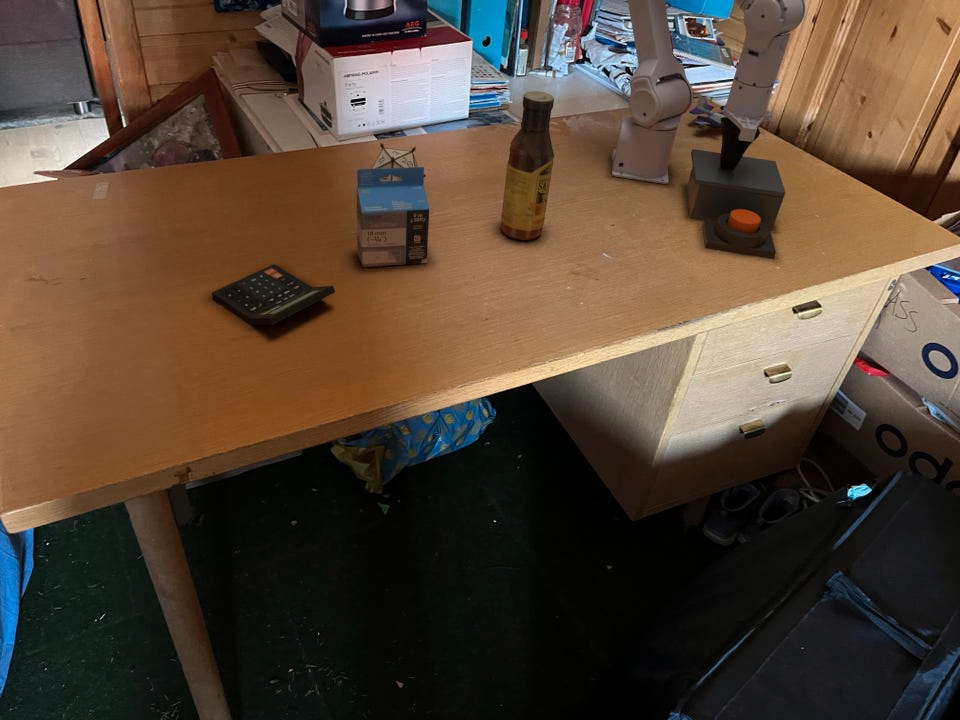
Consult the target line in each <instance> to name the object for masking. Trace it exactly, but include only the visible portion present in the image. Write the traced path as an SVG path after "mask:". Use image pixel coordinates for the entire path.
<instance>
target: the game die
mask: <svg viewBox="0 0 960 720" xmlns="http://www.w3.org/2000/svg"><path fill="white" fill-rule="evenodd" d="M379 143H380V144H379V146H380V148H381V150H380V152H379V154H378V155H377V157H376V159H375V161H374V163H373V165H372V166H371V168H370V169H376V168H409V167H419V164H418V162H417V159H416V157H415V153H414V152H415V151H416V150H417V147H416V146H414V147H412V148H411V150H405V149H398V148H389V147H385V145H384V143H382V142H379ZM426 177H427V175H426V173H424V178H426ZM401 180H402V177H394V175H392V174H390V175H389V176H388V177H382V178H380V181H401Z"/></svg>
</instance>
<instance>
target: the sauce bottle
mask: <svg viewBox="0 0 960 720" xmlns="http://www.w3.org/2000/svg"><path fill="white" fill-rule="evenodd" d="M554 101H555V97H554V96H553V95H552V94H550V93H547V92H545V91H539V90H538V91H537V90H534V91H533V90H532V91H527V92H525V93H523V98H522V108H523V109H522V118H521V122H520V129H519V130H518V131H517V133H516V134H515V135H514V136H513V138H512V140H511V142H510V146H509V155H508V160H507V164H506V173H505V181H504V191H503V199H502V208H501V216H500V217H501V223H500V227H501V228H500V229H501V231H502V232H503V233H504V235H505V236H507V237H509V238H511V239H515V240H521V241H530V240H535V239H537V238H538V237H539V236H540V235H541V233H542V232H543V226H544V224H545V220H546V219H545V218H546V212H547V205H548V199H549V192H550V185H551V179H552V172H553V167H554V159H555V154H554V149H553V144H552V139H551V134H550V127H551V126H550V123H551V115H552V111H553V109H554V104H555V103H554Z"/></svg>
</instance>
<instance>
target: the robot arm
mask: <svg viewBox="0 0 960 720" xmlns="http://www.w3.org/2000/svg"><path fill="white" fill-rule="evenodd" d="M733 1H734V3H735V4H736V5H737V7H738V8H739V9H740V11H742V13H743V26H744V27H745V28H744V29H745V37H744V41H743V45H742V49H741V52H740V55H739V56H740V57H739V59H738V62H737V66H736V70H735V73H734V76H733V79H732V82H731V87H730V90H729V93H728V97H727V100H726V103H725V104H724V105H723V106H724V108H723V113H724V114H725V115H726V116H727V117H722V118H721V119H720V120H721V125H722V129H721V149H720V153H721V156H720V167H721V169H727V170H734V169H735V168H736V166H737V165H738V163H739V161H740V159H741V158H742V156H744V154H745V152H746V151H747V150H748V148H749V147H750V146H751V145H752V144H753V143H754V142H755V141H756V140H757V139H758V138H759V137H760V135H761V130H760V125H761V124H762V123H763V121H771V120H772V118H773V113H772V111H769V110H767V109H768V108H767V107H768V106H769V105H768V104H769V101H770V98H771V95H772V93H773V89H774V86H775V83H776V80H777V78H778V75H779V71H780V68H781V65H782V62H783V59H784V56H785V53H786V49H787V47H788V43H789V40H790V38H791V32H792V31H794V30H795V29H797V28H798V27H799V26H800V25H801V23H802V22H803V20H804V17H805V14H806V3H805V2H806V1H805V0H733ZM627 4H628V5H627V6H628V11H629V18H630V22H631V29H632V34H633V40H634V46H635V52H636V59H637V68H636V69H635V71H634V72H633V74H632V75H631V77H630V79H629V88H630V94H629V99H628V109H629V113H630V117H629V116H623V117H621V119H620V125H619V129H618V133H617V139H616V143H615V148H614V149H613V151H612V157H611V160H612V167H611V170H612V171H611V176H612V177H614V178H616V177H617V178H621V179H622V178H623V179H630V180H635V181H641V182H647V183H648V182H649V183H655V184H663V185H668V184H669V162H670V158H671V153H672V150H673V147H674V146H673V145H674V142H675V138H676V135H677V130H678V127H679V123H680V122H681V119H682V115H684V114H686V113H687V112H689V111H690V108H691V107H692V105H693V102H694V89H693V86H692V84H691V83H690V81H689V80H688V78H687V75H686V70H685V66H684V65H683V64H682V63H681V61H679V60H678V59H677V58H676V57H675V56H674V52H673V45H672V39H671V32H670V25H669V18H668V13H667V6H666V0H627Z"/></svg>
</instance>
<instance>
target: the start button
mask: <svg viewBox="0 0 960 720" xmlns="http://www.w3.org/2000/svg"><path fill="white" fill-rule="evenodd" d="M760 221H761V218H760V217H759V216H758V215H757V214H756V213H754V212H751V211H748V210H743V209H736V210H733V211H732V212H731V213H730V216H729V219H728V222H727V225H728V226H729V227H730V228H731V229H733V230H736V231H738V232H742V233H748V234H749V233H756V232H757V230H758V227H759V224H760Z"/></svg>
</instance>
